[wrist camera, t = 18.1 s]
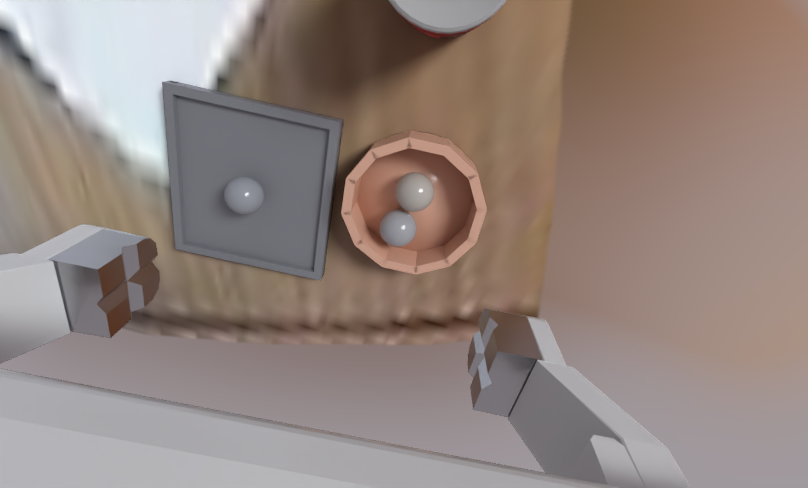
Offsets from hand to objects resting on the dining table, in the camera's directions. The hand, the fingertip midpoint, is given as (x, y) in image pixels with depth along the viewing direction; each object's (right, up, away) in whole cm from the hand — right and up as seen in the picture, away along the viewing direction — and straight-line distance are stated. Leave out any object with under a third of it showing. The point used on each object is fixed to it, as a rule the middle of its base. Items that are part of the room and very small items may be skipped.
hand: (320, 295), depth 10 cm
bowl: (+3, +6, +26) cm, 27 cm away
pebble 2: (+3, +6, +24) cm, 25 cm away
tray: (-12, +7, +27) cm, 30 cm away
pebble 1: (-12, +6, +25) cm, 28 cm away
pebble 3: (+2, +3, +25) cm, 26 cm away
